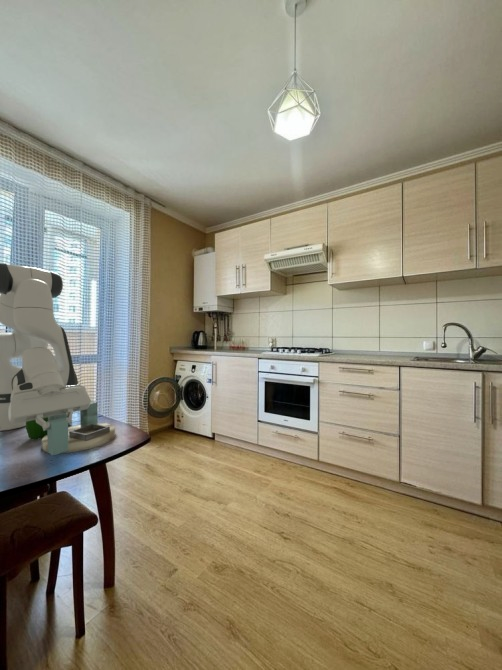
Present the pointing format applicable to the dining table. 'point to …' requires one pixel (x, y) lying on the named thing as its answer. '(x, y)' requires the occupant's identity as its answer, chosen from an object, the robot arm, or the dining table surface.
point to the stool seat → (85, 431)
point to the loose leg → (58, 436)
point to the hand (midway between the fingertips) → (58, 426)
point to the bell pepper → (35, 429)
